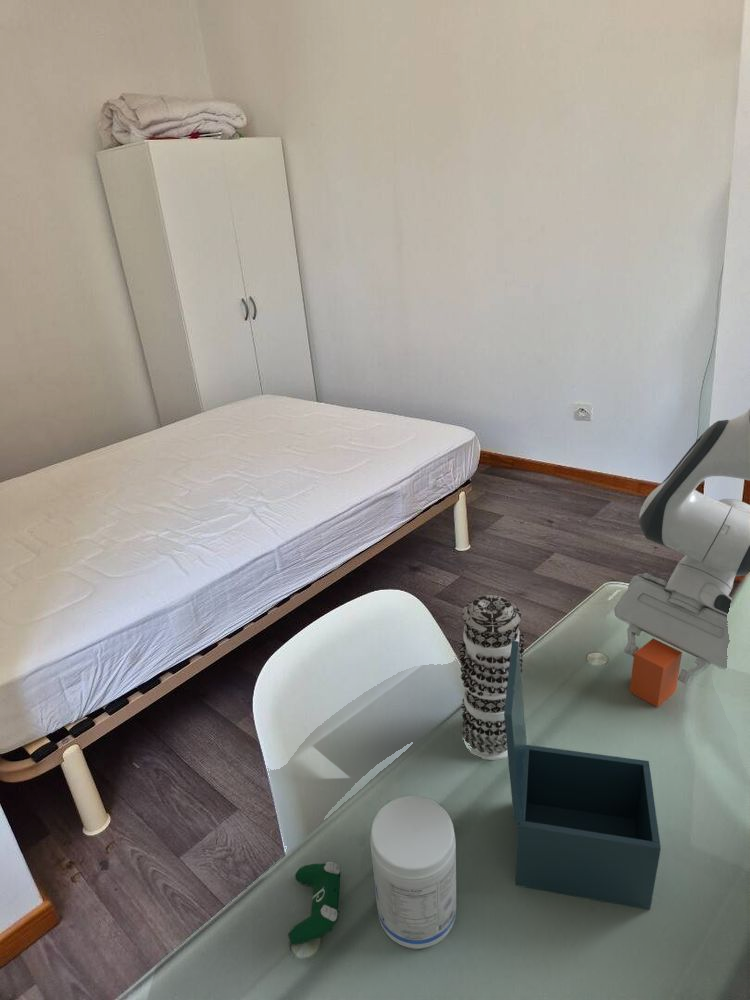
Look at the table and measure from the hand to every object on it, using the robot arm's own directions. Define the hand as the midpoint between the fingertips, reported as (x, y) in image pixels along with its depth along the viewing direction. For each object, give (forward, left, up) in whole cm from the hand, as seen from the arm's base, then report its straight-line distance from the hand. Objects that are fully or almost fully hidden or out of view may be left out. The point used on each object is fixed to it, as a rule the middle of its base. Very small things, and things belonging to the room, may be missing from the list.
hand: (655, 668), depth 111 cm
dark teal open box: (+12, +32, -5) cm, 34 cm away
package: (0, 0, -5) cm, 5 cm away
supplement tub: (+31, +44, -5) cm, 54 cm away
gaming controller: (+43, +46, -5) cm, 63 cm away
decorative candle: (+25, +15, -5) cm, 29 cm away
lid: (+20, +32, +15) cm, 40 cm away
